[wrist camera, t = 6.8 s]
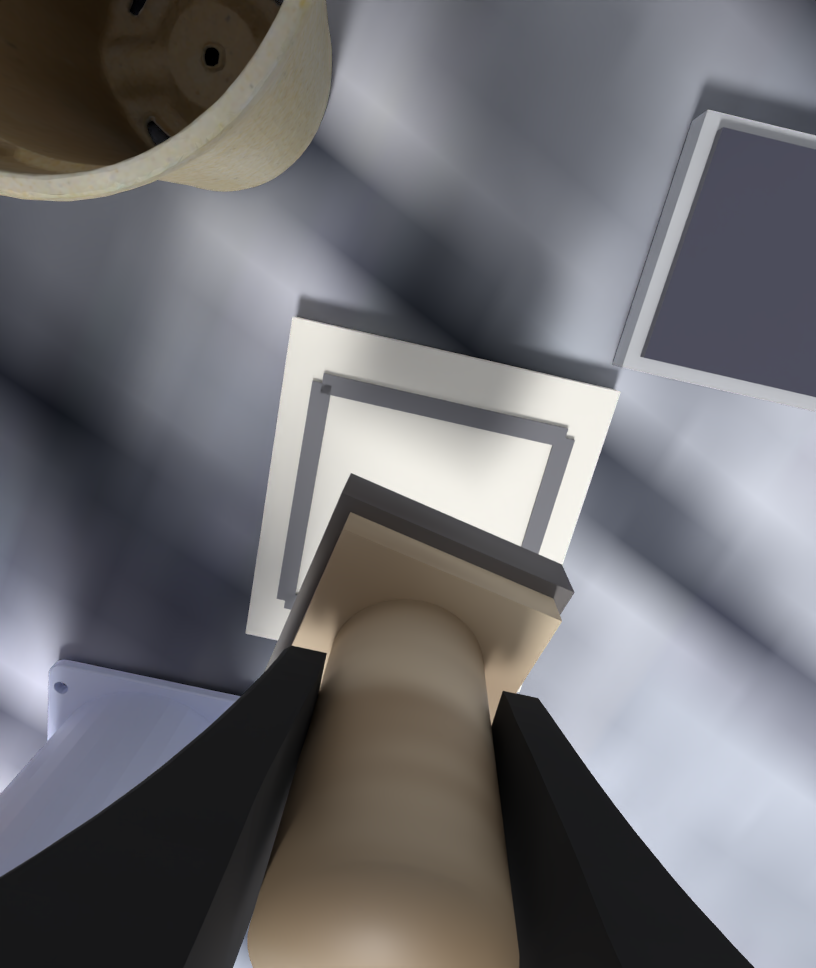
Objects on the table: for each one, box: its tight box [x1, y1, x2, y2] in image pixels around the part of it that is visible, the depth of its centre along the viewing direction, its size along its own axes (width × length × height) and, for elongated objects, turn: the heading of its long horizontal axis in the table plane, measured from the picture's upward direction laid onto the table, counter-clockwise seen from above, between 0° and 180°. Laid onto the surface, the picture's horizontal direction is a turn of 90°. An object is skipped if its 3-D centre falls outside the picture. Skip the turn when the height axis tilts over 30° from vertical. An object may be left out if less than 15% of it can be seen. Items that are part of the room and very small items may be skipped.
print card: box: [246, 317, 620, 692], centre depth 18 cm, size 11×10×1 cm
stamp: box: [248, 473, 574, 968], centre depth 9 cm, size 5×5×7 cm
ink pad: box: [612, 110, 816, 412], centre depth 15 cm, size 7×7×1 cm
